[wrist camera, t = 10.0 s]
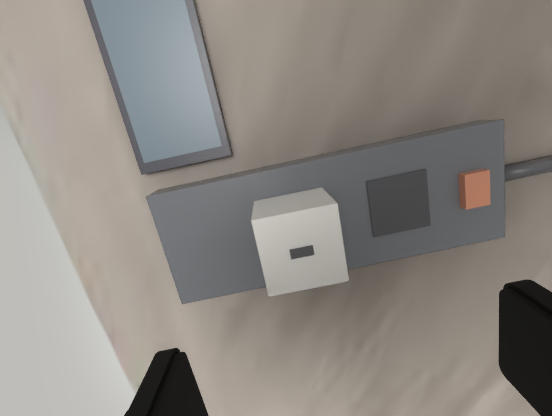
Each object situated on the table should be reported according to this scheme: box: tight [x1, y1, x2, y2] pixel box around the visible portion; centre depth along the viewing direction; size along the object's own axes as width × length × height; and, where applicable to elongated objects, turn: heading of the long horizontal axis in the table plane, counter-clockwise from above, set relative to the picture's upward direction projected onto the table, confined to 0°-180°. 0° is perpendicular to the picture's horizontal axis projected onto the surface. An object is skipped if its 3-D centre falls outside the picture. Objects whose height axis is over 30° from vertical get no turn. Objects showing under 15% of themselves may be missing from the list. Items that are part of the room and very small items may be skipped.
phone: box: [84, 0, 232, 175], centre depth 21 cm, size 7×14×1 cm, turn 12°
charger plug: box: [251, 187, 349, 297], centre depth 21 cm, size 5×5×7 cm
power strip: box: [146, 119, 552, 304], centre depth 23 cm, size 33×9×3 cm, turn 102°
